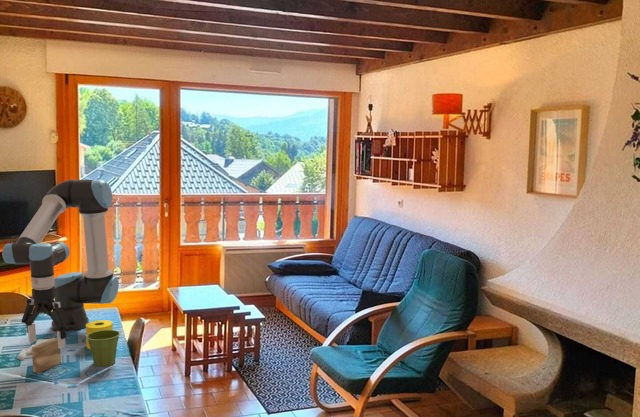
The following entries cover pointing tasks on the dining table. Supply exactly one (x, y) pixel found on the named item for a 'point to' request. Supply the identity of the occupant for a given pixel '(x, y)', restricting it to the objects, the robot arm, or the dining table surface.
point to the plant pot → (103, 346)
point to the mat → (36, 378)
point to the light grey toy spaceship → (29, 350)
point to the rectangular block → (46, 355)
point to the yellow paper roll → (98, 327)
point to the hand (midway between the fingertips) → (47, 344)
